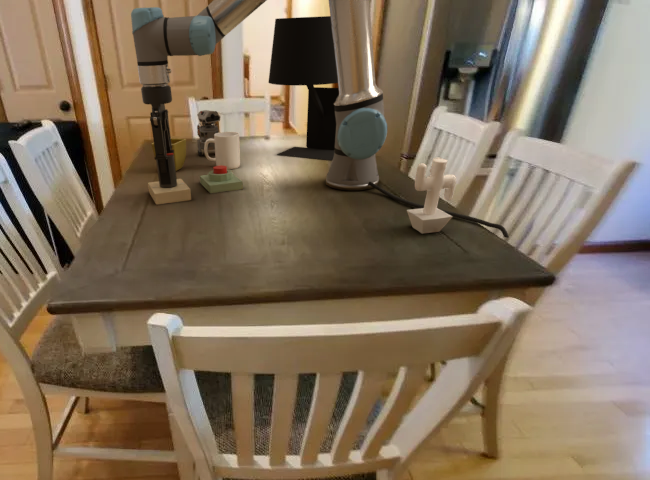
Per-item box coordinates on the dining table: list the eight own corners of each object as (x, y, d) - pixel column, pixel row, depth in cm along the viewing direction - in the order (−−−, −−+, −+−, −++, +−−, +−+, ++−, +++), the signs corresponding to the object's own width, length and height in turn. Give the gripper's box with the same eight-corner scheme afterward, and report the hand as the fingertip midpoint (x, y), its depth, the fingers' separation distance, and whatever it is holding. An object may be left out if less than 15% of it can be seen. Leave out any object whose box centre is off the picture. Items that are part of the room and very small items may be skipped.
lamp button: (228, 174, 137) (228, 167, 136) (215, 175, 136) (215, 169, 135) (224, 171, 140) (224, 164, 139) (212, 172, 139) (211, 166, 138)
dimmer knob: (161, 188, 129) (156, 156, 124) (158, 184, 133) (153, 153, 128) (178, 186, 131) (175, 154, 126) (175, 182, 134) (171, 151, 129)
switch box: (242, 189, 137) (242, 174, 135) (210, 193, 135) (209, 178, 132) (231, 179, 146) (230, 165, 144) (200, 183, 144) (199, 169, 142)
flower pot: (154, 172, 157) (150, 143, 151) (167, 165, 163) (163, 137, 158) (177, 173, 154) (173, 144, 149) (189, 167, 160) (186, 138, 155)
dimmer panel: (191, 200, 130) (190, 188, 128) (156, 204, 128) (154, 192, 126) (182, 189, 139) (181, 178, 138) (149, 193, 137) (147, 182, 135)
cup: (239, 169, 156) (238, 136, 150) (204, 170, 157) (201, 137, 150) (241, 163, 162) (239, 131, 156) (207, 164, 163) (204, 132, 157)
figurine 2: (453, 232, 104) (470, 160, 95) (415, 237, 103) (429, 164, 94) (435, 221, 110) (450, 153, 101) (399, 226, 108) (411, 157, 99)
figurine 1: (201, 160, 169) (197, 113, 160) (197, 153, 178) (193, 108, 169) (225, 158, 170) (223, 111, 161) (220, 151, 179) (218, 107, 170)
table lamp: (354, 151, 171) (367, 14, 147) (321, 169, 152) (331, 15, 128) (292, 146, 182) (295, 18, 158) (255, 161, 164) (252, 19, 139)
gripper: (164, 88, 110) (176, 190, 124) (175, 81, 124) (185, 172, 138) (133, 89, 110) (148, 190, 124) (147, 82, 125) (160, 173, 139)
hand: (167, 181), depth 131 cm, fingers closed on dimmer knob, 5 cm apart
